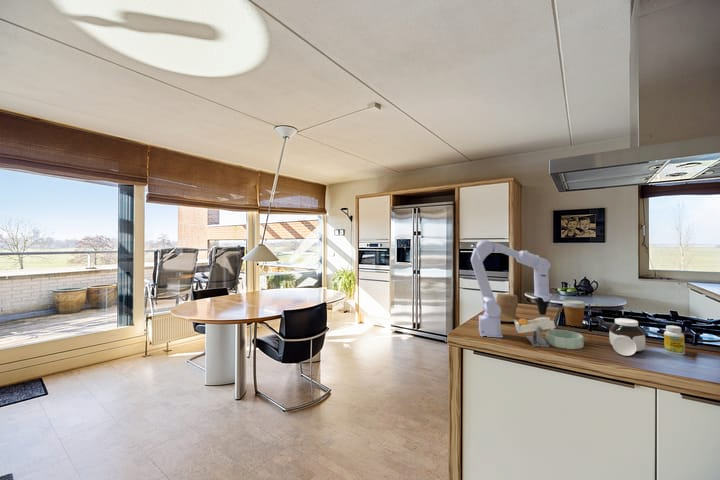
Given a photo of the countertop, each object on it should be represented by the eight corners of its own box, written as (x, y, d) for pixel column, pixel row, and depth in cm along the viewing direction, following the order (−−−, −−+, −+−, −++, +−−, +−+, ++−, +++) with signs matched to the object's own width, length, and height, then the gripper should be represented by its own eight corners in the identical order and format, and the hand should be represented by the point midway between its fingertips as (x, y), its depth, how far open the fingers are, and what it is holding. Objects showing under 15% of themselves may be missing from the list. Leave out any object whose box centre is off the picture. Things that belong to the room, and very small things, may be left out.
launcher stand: (533, 346, 126) (532, 327, 126) (526, 337, 138) (525, 320, 138) (549, 347, 124) (548, 328, 124) (541, 338, 136) (540, 320, 136)
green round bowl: (551, 347, 124) (551, 337, 124) (543, 337, 136) (542, 328, 136) (588, 349, 120) (588, 339, 120) (576, 339, 132) (575, 330, 132)
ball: (519, 328, 131) (518, 319, 131) (517, 326, 135) (516, 317, 135) (529, 329, 130) (529, 319, 130) (527, 326, 134) (526, 317, 134)
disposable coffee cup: (590, 328, 146) (589, 303, 146) (568, 328, 148) (567, 303, 148) (580, 323, 156) (579, 299, 156) (559, 323, 158) (558, 299, 158)
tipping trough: (518, 333, 130) (516, 323, 130) (512, 323, 144) (510, 315, 144) (555, 327, 126) (552, 318, 126) (545, 318, 140) (543, 310, 140)
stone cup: (518, 318, 168) (517, 291, 168) (522, 324, 157) (521, 295, 157) (488, 317, 173) (487, 291, 173) (490, 323, 162) (489, 295, 162)
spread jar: (636, 347, 121) (635, 318, 121) (656, 358, 110) (655, 326, 110) (601, 346, 124) (600, 317, 124) (617, 357, 113) (616, 325, 113)
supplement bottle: (679, 350, 116) (678, 325, 116) (688, 355, 112) (687, 329, 112) (661, 349, 118) (660, 324, 118) (669, 354, 113) (668, 328, 113)
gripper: (556, 286, 130) (557, 318, 130) (546, 282, 144) (547, 311, 144) (538, 286, 132) (539, 318, 132) (530, 282, 146) (531, 310, 146)
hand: (542, 314), depth 138 cm, fingers closed
